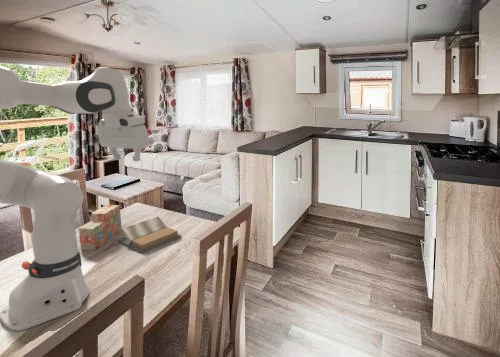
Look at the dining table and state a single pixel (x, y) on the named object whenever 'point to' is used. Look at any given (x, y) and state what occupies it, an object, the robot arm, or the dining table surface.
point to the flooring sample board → (126, 242)
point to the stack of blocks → (100, 227)
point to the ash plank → (143, 228)
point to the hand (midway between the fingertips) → (127, 160)
